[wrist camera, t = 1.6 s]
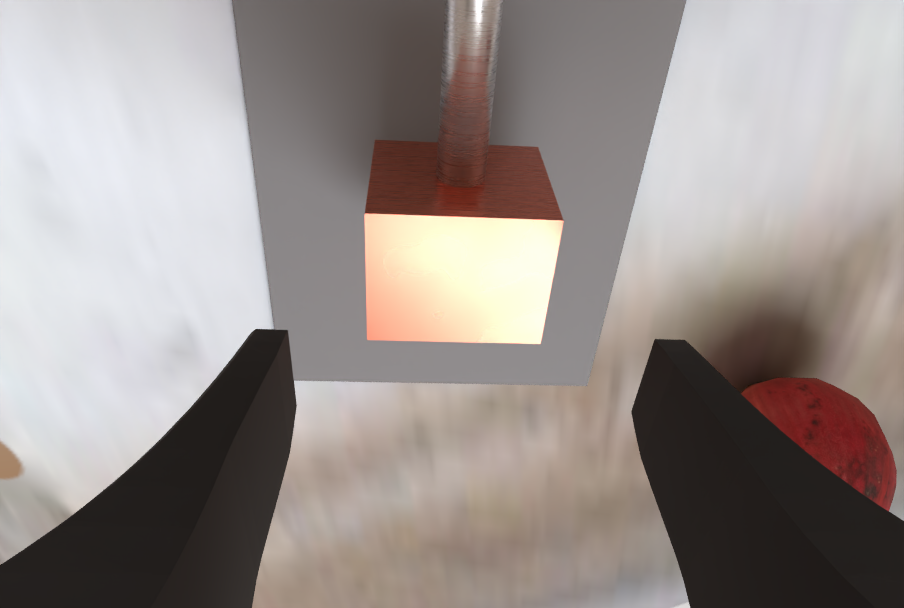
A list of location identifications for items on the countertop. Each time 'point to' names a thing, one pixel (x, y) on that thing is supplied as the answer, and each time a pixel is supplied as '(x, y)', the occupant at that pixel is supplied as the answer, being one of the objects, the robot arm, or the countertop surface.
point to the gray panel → (417, 119)
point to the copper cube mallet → (461, 212)
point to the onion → (831, 431)
